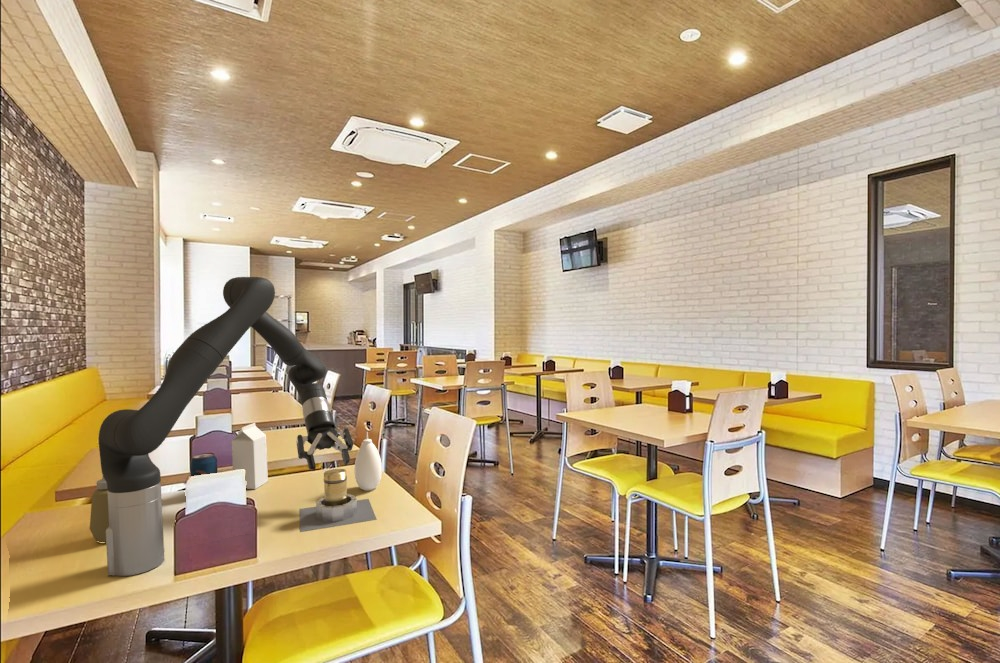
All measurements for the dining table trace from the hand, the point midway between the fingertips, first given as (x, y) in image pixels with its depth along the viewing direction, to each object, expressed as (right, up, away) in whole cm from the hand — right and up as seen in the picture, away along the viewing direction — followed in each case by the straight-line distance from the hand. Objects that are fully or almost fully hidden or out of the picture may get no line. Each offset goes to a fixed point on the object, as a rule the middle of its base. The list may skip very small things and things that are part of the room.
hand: (330, 466), depth 138 cm
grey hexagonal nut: (+3, -11, -4) cm, 12 cm away
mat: (+3, -12, -4) cm, 13 cm away
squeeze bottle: (-48, -14, -14) cm, 52 cm away
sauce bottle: (+6, -12, +16) cm, 21 cm away
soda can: (-42, -13, +15) cm, 47 cm away
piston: (+3, -11, -3) cm, 12 cm away
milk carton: (-32, -12, +24) cm, 42 cm away
